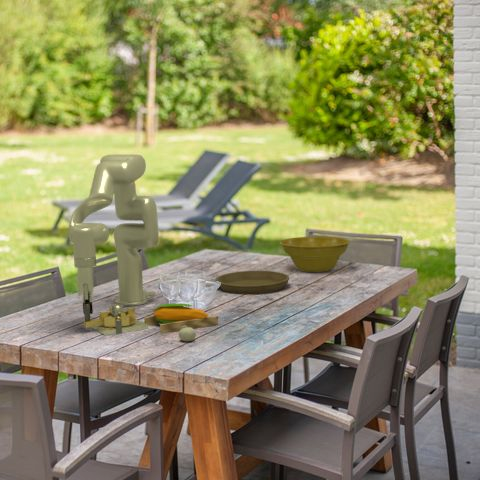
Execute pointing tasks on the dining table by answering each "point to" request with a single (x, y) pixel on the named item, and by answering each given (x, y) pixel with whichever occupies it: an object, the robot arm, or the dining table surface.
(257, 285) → the plant saucer
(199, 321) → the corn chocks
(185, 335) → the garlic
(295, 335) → the dining table surface
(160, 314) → the corn
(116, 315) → the housing plate
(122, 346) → the dining table surface
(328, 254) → the planter bowl
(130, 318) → the tan angular piece
